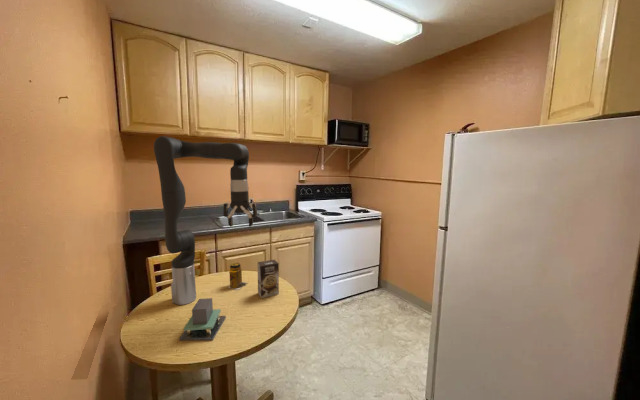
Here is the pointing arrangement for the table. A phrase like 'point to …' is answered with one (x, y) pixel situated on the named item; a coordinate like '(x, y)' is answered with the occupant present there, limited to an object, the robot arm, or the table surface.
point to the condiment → (236, 276)
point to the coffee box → (268, 278)
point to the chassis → (203, 332)
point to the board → (206, 326)
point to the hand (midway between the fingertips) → (240, 226)
